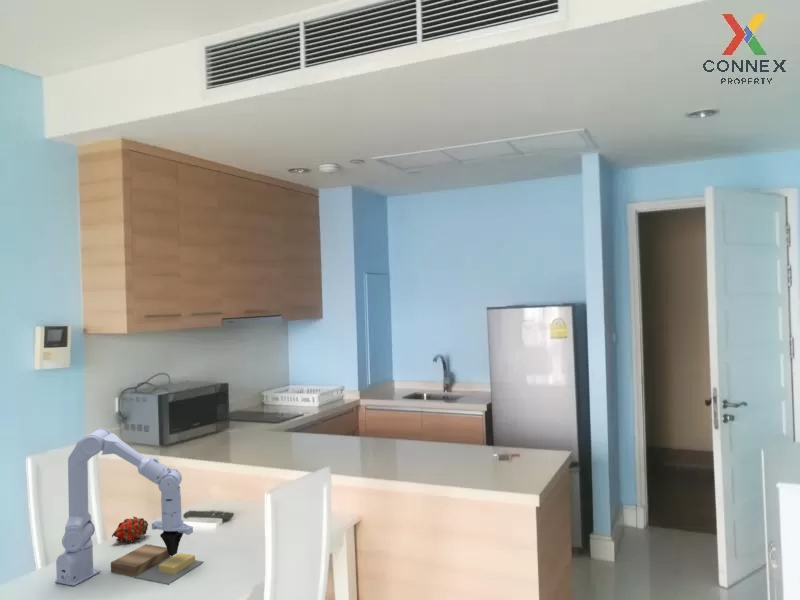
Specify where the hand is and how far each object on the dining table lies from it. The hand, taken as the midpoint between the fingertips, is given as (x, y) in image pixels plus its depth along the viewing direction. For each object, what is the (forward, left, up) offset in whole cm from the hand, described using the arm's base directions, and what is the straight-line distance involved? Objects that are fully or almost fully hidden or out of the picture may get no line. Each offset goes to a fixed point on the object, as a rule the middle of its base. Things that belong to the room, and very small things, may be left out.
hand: (173, 554), depth 185 cm
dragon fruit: (+11, +29, -4) cm, 31 cm away
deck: (-2, +11, -4) cm, 12 cm away
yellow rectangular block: (0, -1, -2) cm, 2 cm away
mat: (-2, 0, -4) cm, 4 cm away
